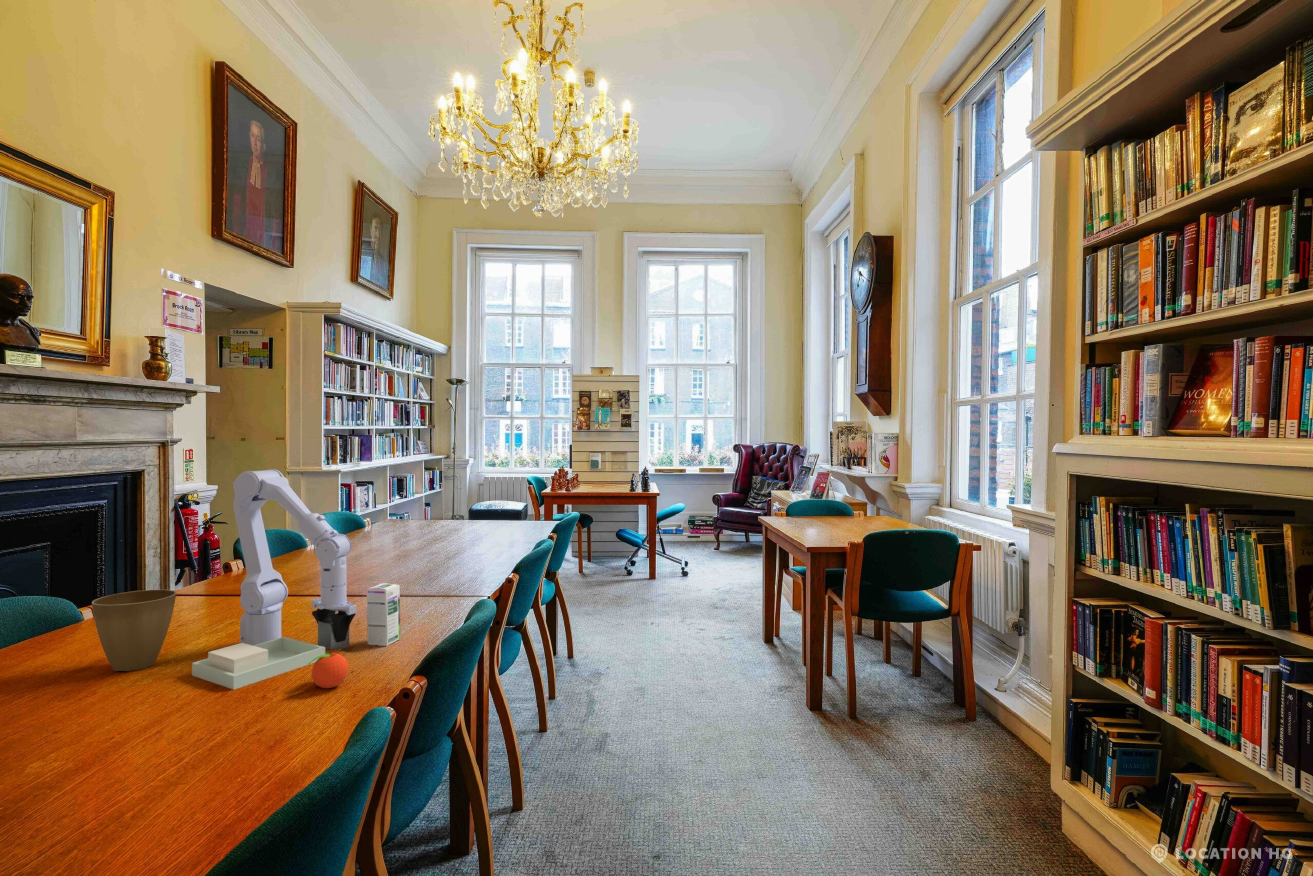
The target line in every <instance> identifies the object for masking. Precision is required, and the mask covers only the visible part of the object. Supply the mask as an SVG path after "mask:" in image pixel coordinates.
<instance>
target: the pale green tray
mask: <svg viewBox="0 0 1313 876" xmlns="http://www.w3.org/2000/svg"><path fill="white" fill-rule="evenodd" d="M253 646H256V647H260V648H263V649H267V650H268V664H267V665H263V666H260V667H257V668H254V669H251V670H248V671H245V672H241V673H238V674H233V673H230V672H227V671H224V670H221V669H218V668H214V667H211V666H208V657H207V658H205V659H201V660H198V661H194V662H191V676H192V677H195V678H199V679H201V680H204V681H207V682H210V683H213V684H215V685H219V686H221V687H225V688H228V689H230V690H233V691H234V690H237V689H239V688H240V689H241V688H244V687H246V686H249V685H252V684H254V683H258V682H261V681H263V680H264V681H265V680H267V679H270V678H273V677H276V676H279V675H282V674H285V673H288V672H290V671H294V670H296V669H300V668H302V667H303V668H304V667H305V666H306V667H307V666H309V665H311V664H315V662H316V661H317V660H318V659H319V658H318V659H316V660H314V661H312V660H313V659H315V658H316V657H318V656H321V655H325V654H326V649H325V647H323V646H319V645H318V644H314V643H310V642H305V641H302V640H298V639H294V638H291V637H287V636H281V638H278V639H274V640H271V641H267V642H264V643H260V644H256V645H253ZM311 661H312V662H311ZM310 662H311V663H310ZM309 663H310V664H309ZM308 664H309V665H308Z"/></svg>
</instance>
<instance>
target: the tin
mask: <svg viewBox="0 0 1313 876" xmlns="http://www.w3.org/2000/svg"><path fill="white" fill-rule="evenodd" d="M317 645H319V646H323V647H325V650H330V651H332V650H336V651H340V650H339V649H342V648H345V649H347V648H346V647H348V648H350V628H349V629H348V633H347V636H346V640H345V641H342V642H336V638H335V629H334V624H333V622H332V619H331V618H328V619H325V620H321V621H318V624H317ZM342 650H343V649H342Z"/></svg>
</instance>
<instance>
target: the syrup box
mask: <svg viewBox="0 0 1313 876" xmlns="http://www.w3.org/2000/svg"><path fill="white" fill-rule="evenodd" d="M400 591H401V588H400V583H393V582H391V583H390V582H388V583H386V582H384V583H383V582H382V583H379V584H377V585H373V586H371V587H368V588H367V589H366V623H367V624H366V627H367V629H366V630H367V645H368V646H369V645H370V646H375V645H378V646H377V647H388V646H390V645H391V644H393V643H395V642H397V641H400V640H401V639H402V638H401V635H402V634H401V596H400V595H401V592H400Z"/></svg>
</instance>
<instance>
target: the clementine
mask: <svg viewBox="0 0 1313 876" xmlns="http://www.w3.org/2000/svg"><path fill="white" fill-rule="evenodd" d="M318 658H319V659H318ZM316 659H318V660H317V661H316V662H315V663H313V666H312V669H311V672H310V673H311V678H312V680H313V682H314V684H315V685H317V686H318V687H320V688H321V689H332V688H334V687H338V686H339V685H341V683H343V682H344V680H346V678H347V676H348V674H349V663H348V661H347V659H346V657H344V656H343V655H341V654H340V653H337V652H331V653H325V655H321V656H318V657H316V658H315V659H313V660H312V661H314V660H316ZM312 661H311V662H312ZM311 662H310V663H311ZM310 663H309V664H308V665H307V666H309V665H311V664H310Z"/></svg>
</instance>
